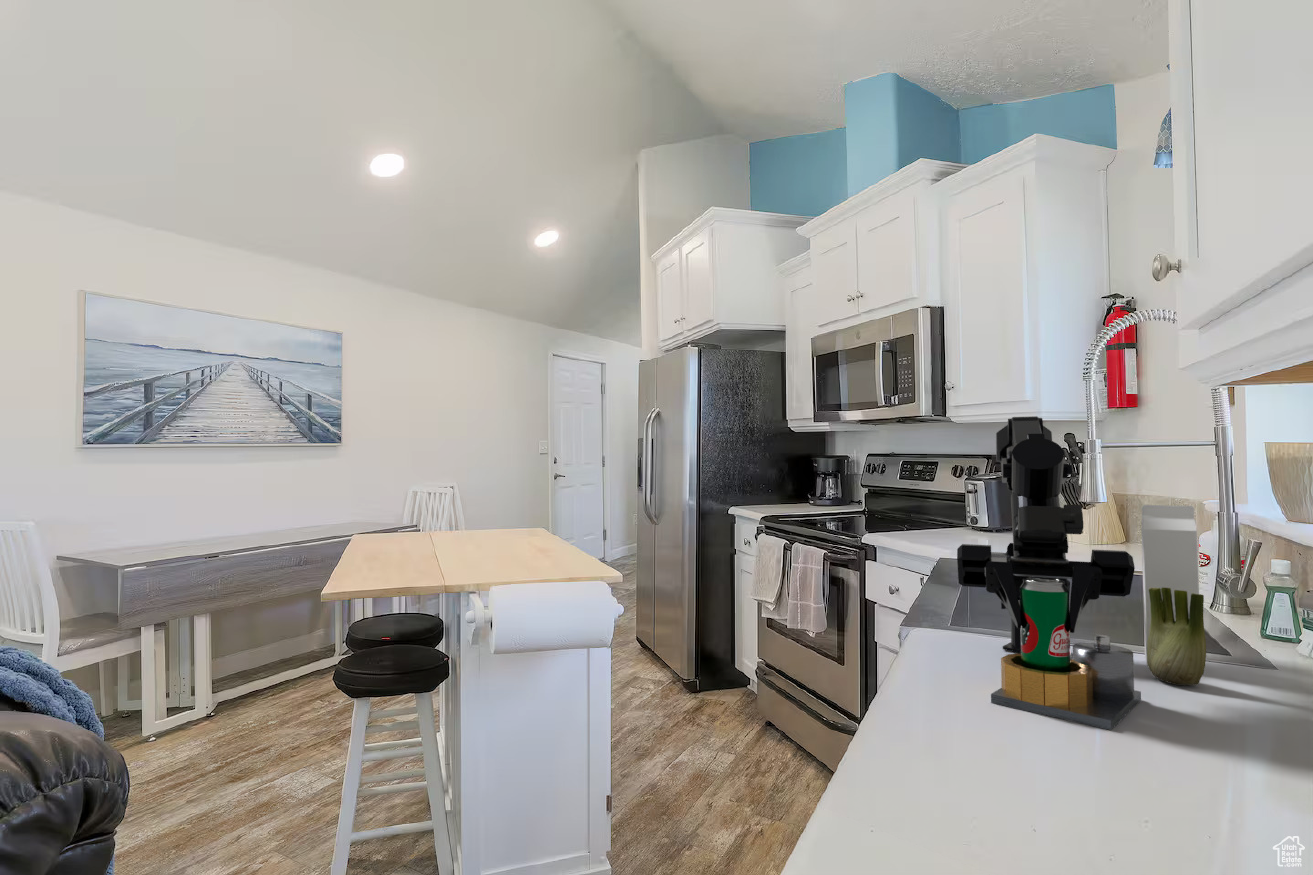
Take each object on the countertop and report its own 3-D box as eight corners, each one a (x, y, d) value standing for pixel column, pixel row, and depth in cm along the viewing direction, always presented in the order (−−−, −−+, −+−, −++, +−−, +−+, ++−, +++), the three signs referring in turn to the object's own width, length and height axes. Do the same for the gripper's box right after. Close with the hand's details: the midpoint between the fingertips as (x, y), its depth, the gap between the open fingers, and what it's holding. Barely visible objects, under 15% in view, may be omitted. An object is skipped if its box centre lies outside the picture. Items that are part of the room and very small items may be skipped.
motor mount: (1030, 678, 91) (1029, 619, 92) (1141, 700, 83) (1139, 635, 83) (991, 702, 82) (989, 637, 82) (1111, 730, 73) (1109, 657, 74)
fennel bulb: (1213, 689, 87) (1210, 591, 87) (1177, 691, 86) (1174, 592, 87) (1173, 675, 93) (1170, 583, 93) (1139, 677, 92) (1136, 584, 92)
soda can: (1059, 693, 79) (1057, 585, 79) (1013, 682, 82) (1011, 579, 83) (1078, 684, 82) (1076, 580, 82) (1033, 674, 86) (1031, 574, 86)
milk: (1201, 673, 94) (1197, 507, 94) (1146, 666, 97) (1142, 505, 98) (1196, 662, 99) (1192, 504, 100) (1143, 656, 102) (1140, 503, 103)
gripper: (956, 480, 90) (954, 581, 80) (1129, 482, 83) (1152, 593, 72) (959, 536, 97) (958, 635, 87) (1119, 542, 89) (1139, 651, 79)
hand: (1045, 628), depth 81 cm, fingers closed on soda can, 5 cm apart
